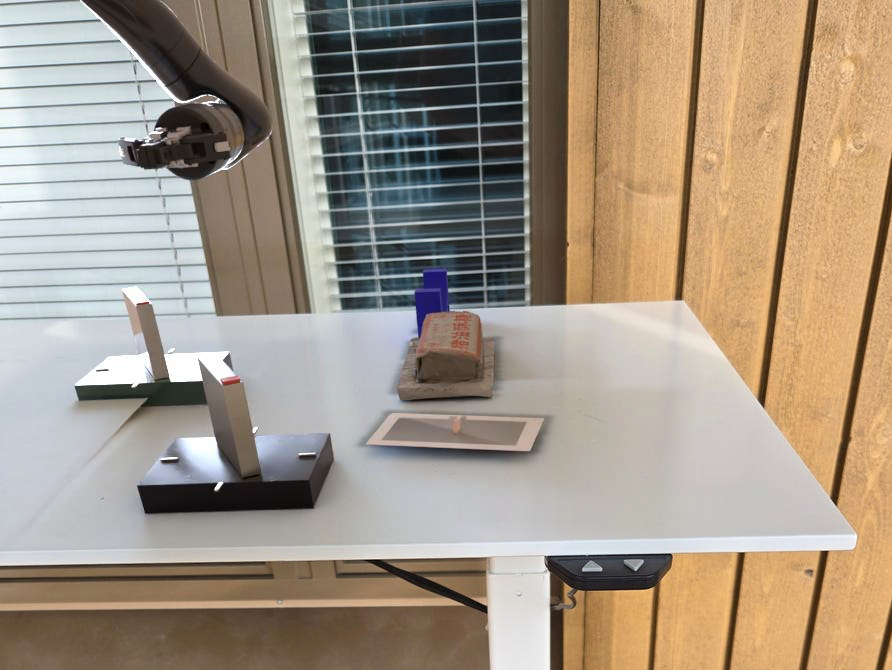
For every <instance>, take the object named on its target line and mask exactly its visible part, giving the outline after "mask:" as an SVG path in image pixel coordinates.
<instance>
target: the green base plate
mask: <svg viewBox="0 0 892 670" xmlns="http://www.w3.org/2000/svg"><path fill="white" fill-rule="evenodd" d="M175 351H176V348H171V349H170V350H168V353H167V354H166V353H164V354H165V358H166V362H167V366H168V370H169V374H170V377H167V378H161V379H156V380H155V379H154V378H153V376H152V375H151V373H150V372H149V370H148V369H147V368H146V366H145V365H144V363H143V362H142V360H141V359H140V356H139V355H118V356H114V355H113V356H108V357H107V358H106V359H104V361H102V362H101V363H100V364H99V365H97V366H96V367H95V368H94V369H92V370H91V371H90V372H89V373H88V374H86V375H85V376H84V377H82V378H81V379H80V380H79V381H78V382H77V383H75V384H74V385H73V386H74V390H75V394H76V396H77V399H78V400H77V401H78V402H81V401H82V402H83V401H84V402H85V401H86V402H87V401H109V400H113V401H114V400H133V399H134V400H137V399H139V400H140V399H146V400H145V401H144V402H143V403H141V404H140V407H155V406H156V407H157V406H181V405H182V406H183V405H184V406H185V405H186V406H187V405H208V404H207V399H206V395H205V390H204V386H203V382H202V377H201V373H200V369H199V364H198V360H197V357H198V356H204V355H209V354H215V353H216V354H217V355H218V356H219V357H220V358H221V359H222V361H223V362H224V363H225V364H226V365H227V366H228V367H229V368H230V369H231V370H232V371H233V372H234V367H233V362H232V357H231V353H230V351H217V352H215V351H214V352H193V353H192V352H191V353H189V352H188V353H174V352H175ZM234 373H235V372H234Z"/></svg>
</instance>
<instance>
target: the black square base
mask: <svg viewBox="0 0 892 670" xmlns="http://www.w3.org/2000/svg"><path fill="white" fill-rule="evenodd" d="M258 430H259V427H258V426H255V427H254V428H253V433H254V438H255V443H256V448H257V453H258V458H259V463H260V468H261V474H257V475H253V476H249V477H245V478H242V477H241V475H240V474H239V472H238V471H237V470H236V468H235V467H234V466H233V464H232V463H231V462H230V460H229V459H228V457H227V456H226V455H225V453H224V452H223V451H222V449H221V448H220V446H219V445H218V444H217V442H216V439H215V436H208V437H207V436H206V437H204V436H203V437H180V438H178V437H177V438H174V439H173V441H172V442H171V443H170V445H169V446H168V447H167V448H166V450H165V451H164V452H163V453H162V454H161V455H160V457H159V458H158V459H157V460H156V461H155V463H154V464H153V465H152V466H151V468H150V469H149V470H148V471H147V472H146V474H145V475H144V476H143V477H142V479H141V480H140V481H139V483H137V485H136V487H137V491H138V495H139V498H140V503H141V505H142V509H143V512H144V514H175V513H206V512H208V513H209V512H238V511H239V512H240V511H241V512H242V511H269V510H270V511H271V510H272V511H273V510H275V511H276V510H305V509H307V510H308V509H309V510H310V509H315V506H316V504H317V502H318V499H319V496H320V494H321V492H322V489H323V488H324V484H325V481H326V480H327V478H328V475H329V473H330V470H331V468H332V465H333V463H334V460H335V455H334V449H333V443H332V442H333V441H332V438H331V436H332V435H331V432H322V433H321V432H320V433H294V434H293V433H292V434H265V435H256V434H257V432H258Z"/></svg>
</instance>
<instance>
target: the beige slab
mask: <svg viewBox="0 0 892 670" xmlns="http://www.w3.org/2000/svg"><path fill="white" fill-rule="evenodd" d="M121 292H122V296H123V299H124V304H125V307H126V311H127V314H128V315H127V316H128V318H129V321H130V326H131V329H132V333H133V337H134V342H135V344H136V349H137V352H138V356H140V359H141V360H142V362H143V363H144V365H145V366H146V368H147V369H148V370H149V372H150V373H151V375H152V376H153V378H154V379H155V380H156V379H161V378H167V377H170V374H169V370H168V366H167V362H166V358H165V354H166V353H165V351H164V347H163V342H162V339H161V334H160V331H159V327H158V321H157V318H156V315H155V310H154V307H153V306H154V305H153V303H152V302H151V301H150V300H149V299H148V298H147V297H146V295H145V294H144V293H143V292H142V291H141V290H140V289H139V288H138V286H134V287H128V288H127V287H126V288H122V289H121Z"/></svg>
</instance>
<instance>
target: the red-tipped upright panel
mask: <svg viewBox="0 0 892 670" xmlns="http://www.w3.org/2000/svg"><path fill="white" fill-rule="evenodd" d="M214 353H215V352H214ZM197 360H198V364H199V369H200V373H201V377H202V382H203V386H204V390H205V395H206V399H207V404H206V405H207V407H208V412H209V416H210V421H211V426H212V431H213V434H214V437H215V439H216V442H217V444H218V445H219V446H220V448H221V449H222V451H223V452H224V453H225V455H226V456H227V457H228V459H229V460H230V462H231V463H232V464H233V466H234V467H235V468H236V470H237V471H238V472H239V474H240V475H241V477H242V478H245V477H249V476H253V475H257V474H261V468H260V463H259V458H258V453H257V448H256V443H255V438H254V436H255V435H254V433H253V429H254V428H253V424H252V417H251V414H250V409H249V403H248V400H247V395H246V389H245V383H244V381H243V380H242V379H241V378H240V377H239V376H238V375H237V374H236V373H235V372H233V371H234V370H233V371H232V370H231V369H230V368H229V367H228V366H227V365H226V364H225V363H224V362H223V361H222V359H221V358H220V357H219V356H218V355H217V354H216V353H215V354H209V355H204V356H198V357H197Z"/></svg>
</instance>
